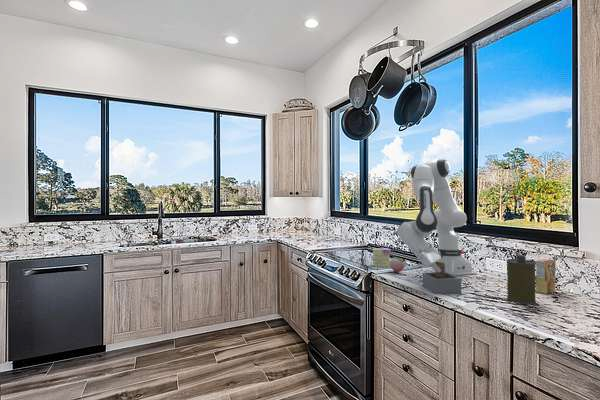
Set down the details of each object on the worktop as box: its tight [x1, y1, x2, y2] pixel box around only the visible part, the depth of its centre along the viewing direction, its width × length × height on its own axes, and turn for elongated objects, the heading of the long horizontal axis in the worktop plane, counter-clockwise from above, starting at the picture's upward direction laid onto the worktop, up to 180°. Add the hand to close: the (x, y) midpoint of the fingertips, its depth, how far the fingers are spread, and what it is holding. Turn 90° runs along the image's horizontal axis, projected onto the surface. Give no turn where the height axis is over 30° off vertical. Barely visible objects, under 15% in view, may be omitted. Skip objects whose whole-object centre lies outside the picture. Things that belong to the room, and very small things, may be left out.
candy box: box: [535, 258, 556, 295], centre depth 148 cm, size 9×4×15 cm, turn 116°
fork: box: [405, 260, 427, 269], centre depth 210 cm, size 3×20×2 cm, turn 21°
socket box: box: [422, 272, 462, 295], centre depth 153 cm, size 13×13×7 cm
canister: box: [506, 254, 537, 305], centre depth 136 cm, size 11×10×20 cm
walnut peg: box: [435, 261, 445, 279], centre depth 153 cm, size 4×4×10 cm
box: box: [372, 247, 391, 268], centre depth 208 cm, size 10×6×12 cm, turn 84°
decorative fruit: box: [389, 256, 406, 273], centre depth 190 cm, size 9×8×10 cm
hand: (441, 270), depth 153 cm, fingers closed on walnut peg, 4 cm apart
